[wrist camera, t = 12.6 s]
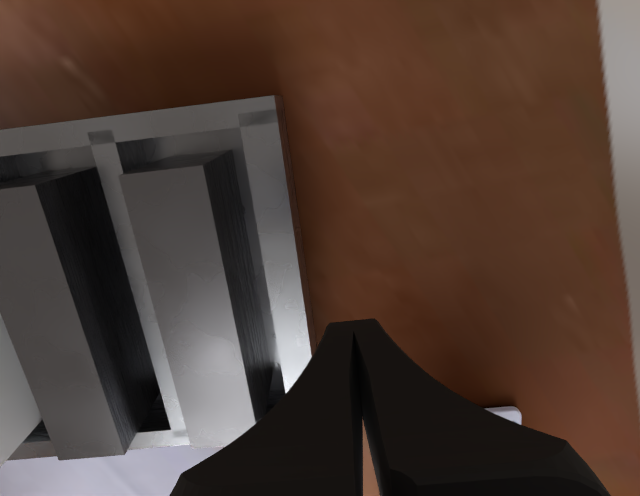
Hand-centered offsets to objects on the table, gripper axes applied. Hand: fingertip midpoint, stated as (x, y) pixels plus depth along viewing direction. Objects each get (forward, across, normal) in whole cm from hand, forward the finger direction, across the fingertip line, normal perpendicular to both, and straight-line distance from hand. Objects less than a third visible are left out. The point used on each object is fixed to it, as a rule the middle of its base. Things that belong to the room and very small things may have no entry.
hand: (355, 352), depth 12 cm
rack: (+10, +12, +1) cm, 16 cm away
